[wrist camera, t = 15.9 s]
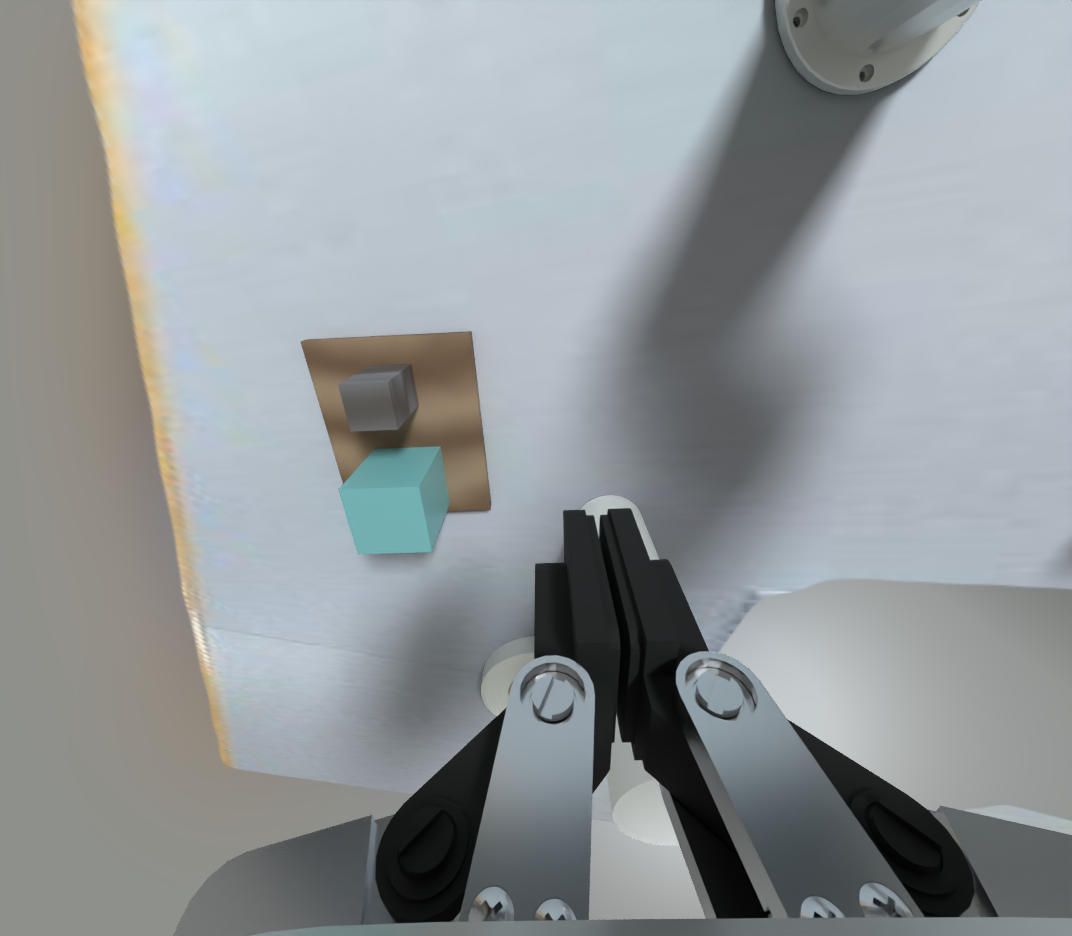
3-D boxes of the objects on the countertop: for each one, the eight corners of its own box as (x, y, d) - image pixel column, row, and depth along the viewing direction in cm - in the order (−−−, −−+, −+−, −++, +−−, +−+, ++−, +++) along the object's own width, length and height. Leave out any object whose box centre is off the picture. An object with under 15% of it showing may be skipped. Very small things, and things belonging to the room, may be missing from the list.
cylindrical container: (639, 550, 44) (742, 845, 22) (573, 552, 44) (609, 846, 22) (644, 494, 41) (772, 771, 19) (574, 496, 41) (616, 773, 19)
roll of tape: (476, 703, 57) (473, 724, 54) (491, 626, 50) (488, 645, 47) (584, 716, 58) (586, 737, 55) (612, 642, 51) (616, 662, 49)
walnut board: (306, 339, 34) (255, 356, 28) (471, 331, 34) (456, 346, 28) (356, 509, 42) (324, 552, 36) (491, 504, 42) (482, 547, 35)
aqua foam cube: (374, 448, 38) (338, 489, 31) (440, 446, 38) (419, 486, 31) (388, 505, 40) (358, 554, 34) (449, 503, 40) (431, 552, 34)
